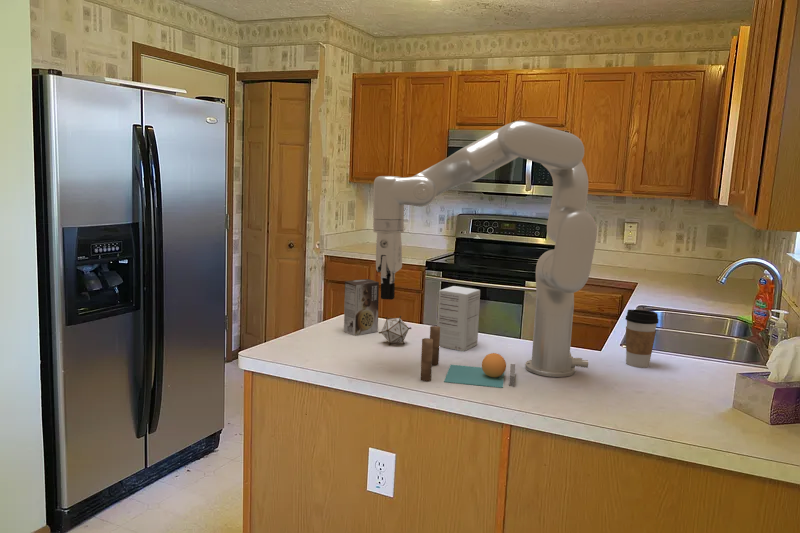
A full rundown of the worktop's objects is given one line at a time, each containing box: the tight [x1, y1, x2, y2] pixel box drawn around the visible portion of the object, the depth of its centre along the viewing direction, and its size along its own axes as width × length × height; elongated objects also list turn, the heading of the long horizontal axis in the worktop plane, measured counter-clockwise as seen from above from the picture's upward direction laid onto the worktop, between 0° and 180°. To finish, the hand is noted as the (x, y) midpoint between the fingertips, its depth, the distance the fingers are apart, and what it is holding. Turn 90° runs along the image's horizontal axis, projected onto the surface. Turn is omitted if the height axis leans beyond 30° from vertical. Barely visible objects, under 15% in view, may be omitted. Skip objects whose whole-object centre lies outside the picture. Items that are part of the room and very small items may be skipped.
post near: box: [419, 337, 433, 382], centre depth 148 cm, size 3×3×10 cm
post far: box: [429, 325, 440, 367], centre depth 160 cm, size 3×3×10 cm
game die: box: [378, 315, 412, 346], centre depth 179 cm, size 9×8×10 cm
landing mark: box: [443, 364, 505, 389], centre depth 152 cm, size 14×14×1 cm
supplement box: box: [437, 285, 481, 352], centre depth 179 cm, size 10×9×17 cm
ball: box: [481, 352, 507, 378], centre depth 152 cm, size 6×6×6 cm
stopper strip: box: [508, 363, 516, 387], centre depth 151 cm, size 1×10×2 cm, turn 169°
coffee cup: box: [625, 309, 659, 369], centre depth 167 cm, size 8×8×15 cm
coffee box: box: [343, 278, 380, 336], centre depth 191 cm, size 9×6×16 cm
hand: (387, 298), depth 154 cm, fingers closed
